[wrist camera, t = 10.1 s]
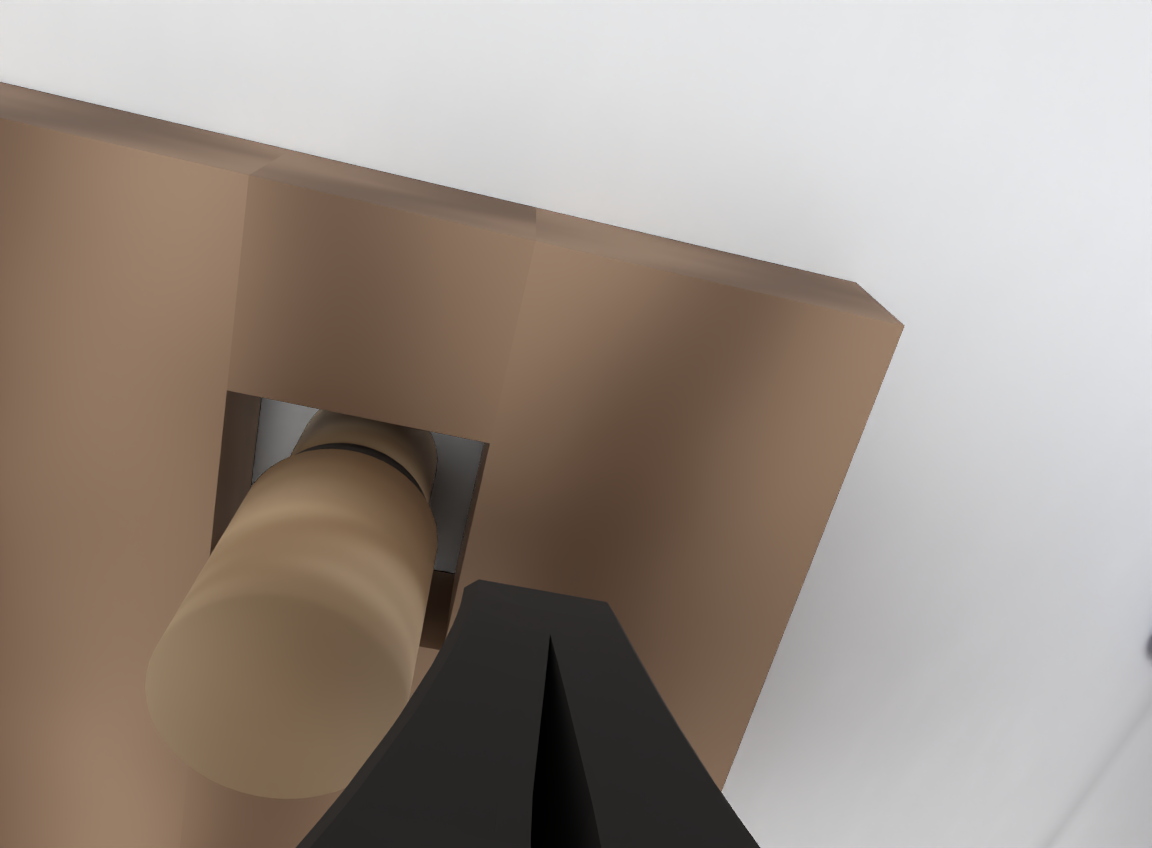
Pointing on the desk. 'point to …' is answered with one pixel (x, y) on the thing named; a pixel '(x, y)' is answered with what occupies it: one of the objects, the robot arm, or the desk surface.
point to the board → (388, 394)
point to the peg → (304, 615)
